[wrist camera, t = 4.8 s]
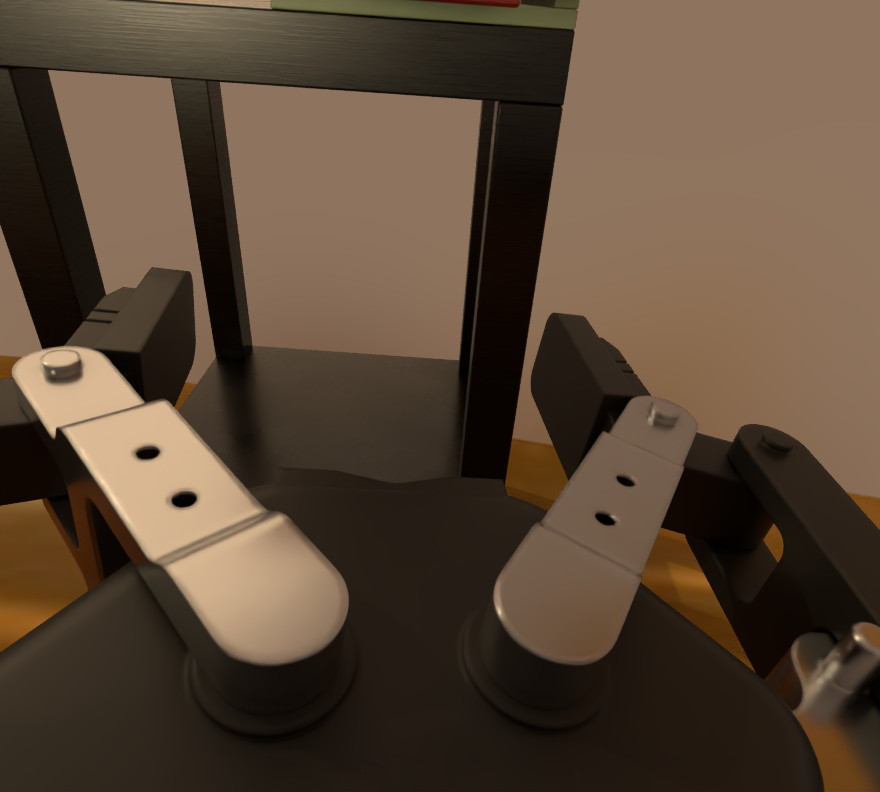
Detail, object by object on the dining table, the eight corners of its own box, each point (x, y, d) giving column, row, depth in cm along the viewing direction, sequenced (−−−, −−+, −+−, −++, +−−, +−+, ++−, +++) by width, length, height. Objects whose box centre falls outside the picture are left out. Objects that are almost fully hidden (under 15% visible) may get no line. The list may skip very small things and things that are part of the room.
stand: (144, 654, 35) (-84, -16, 18) (242, 457, 50) (171, -10, 33) (475, 678, 35) (575, 30, 18) (473, 474, 50) (526, 15, 33)
